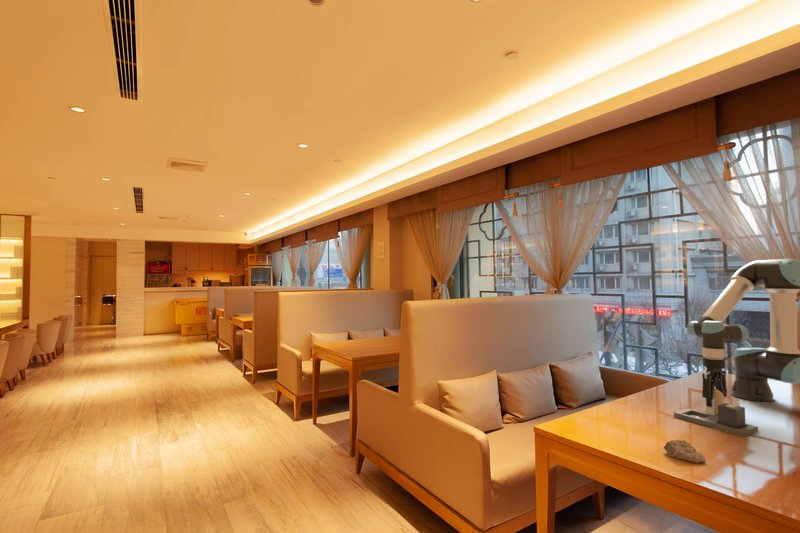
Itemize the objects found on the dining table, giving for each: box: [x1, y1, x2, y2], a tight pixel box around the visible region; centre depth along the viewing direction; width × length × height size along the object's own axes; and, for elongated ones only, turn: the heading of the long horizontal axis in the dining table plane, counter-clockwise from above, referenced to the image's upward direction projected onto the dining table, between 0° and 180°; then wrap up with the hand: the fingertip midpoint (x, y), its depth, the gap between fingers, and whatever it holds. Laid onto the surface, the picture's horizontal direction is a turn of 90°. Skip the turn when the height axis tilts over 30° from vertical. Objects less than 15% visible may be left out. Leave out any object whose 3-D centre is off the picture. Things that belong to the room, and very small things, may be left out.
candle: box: [713, 388, 725, 416], centre depth 170 cm, size 6×6×10 cm
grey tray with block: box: [673, 402, 759, 437], centre depth 158 cm, size 10×24×9 cm, turn 27°
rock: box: [663, 439, 707, 464], centre depth 130 cm, size 9×6×10 cm
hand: (715, 412), depth 170 cm, fingers open, 7 cm apart
